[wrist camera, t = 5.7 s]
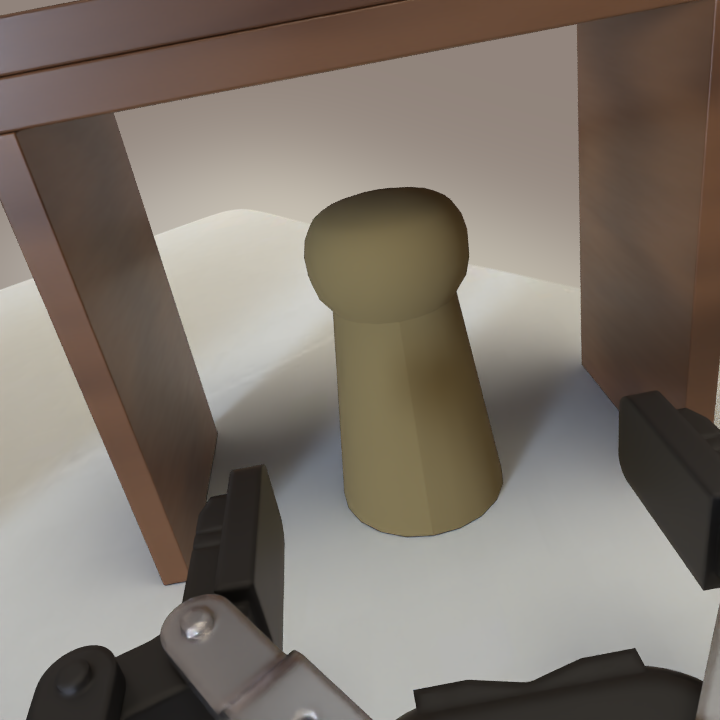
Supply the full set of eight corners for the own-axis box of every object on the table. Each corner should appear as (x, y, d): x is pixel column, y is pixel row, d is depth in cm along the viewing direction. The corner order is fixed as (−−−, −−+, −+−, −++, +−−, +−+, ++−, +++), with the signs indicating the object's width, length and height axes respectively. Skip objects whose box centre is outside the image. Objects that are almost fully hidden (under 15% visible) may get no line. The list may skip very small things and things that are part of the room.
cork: (367, 431, 29) (317, 179, 24) (509, 434, 27) (488, 161, 22) (324, 530, 24) (248, 239, 19) (494, 542, 22) (462, 222, 17)
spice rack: (708, 482, 23) (799, -442, 13) (163, 586, 23) (-194, -251, 13) (602, 360, 31) (604, -270, 21) (196, 437, 31) (-7, -153, 21)
